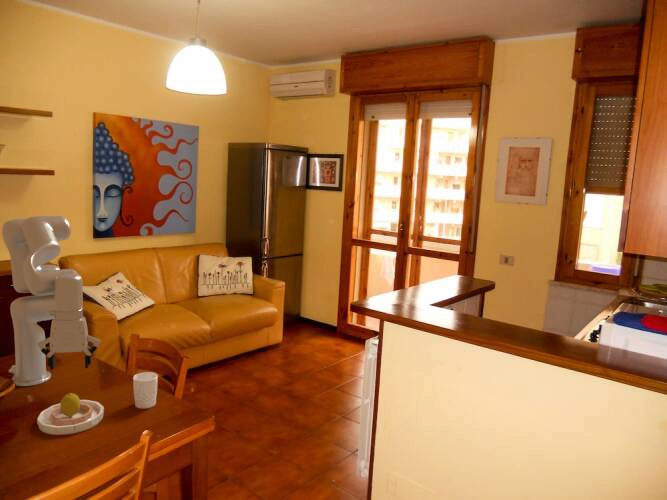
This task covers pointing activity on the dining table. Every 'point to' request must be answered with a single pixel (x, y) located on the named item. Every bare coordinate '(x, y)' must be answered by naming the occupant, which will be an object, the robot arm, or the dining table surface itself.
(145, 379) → the white cup
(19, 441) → the dining table surface
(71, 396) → the lemon
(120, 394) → the dining table surface
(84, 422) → the fruit dish
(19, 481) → the dining table surface
